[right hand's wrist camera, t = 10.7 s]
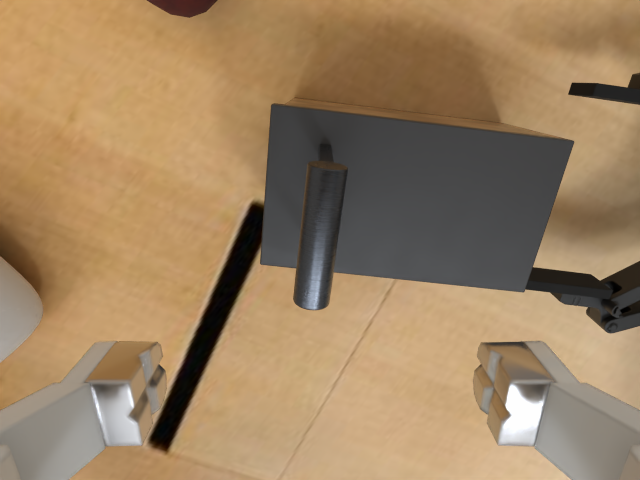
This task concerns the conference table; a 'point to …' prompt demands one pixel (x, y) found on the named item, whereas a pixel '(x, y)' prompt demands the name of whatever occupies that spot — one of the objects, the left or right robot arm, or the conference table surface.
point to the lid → (404, 200)
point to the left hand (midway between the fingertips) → (546, 190)
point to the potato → (184, 6)
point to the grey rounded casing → (16, 309)
